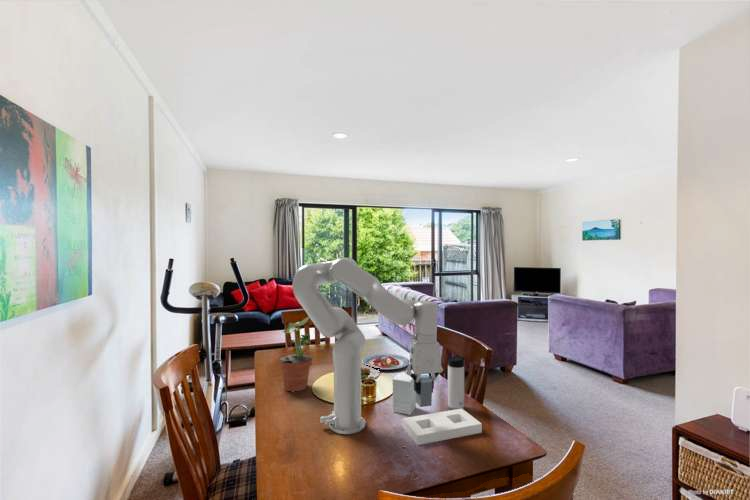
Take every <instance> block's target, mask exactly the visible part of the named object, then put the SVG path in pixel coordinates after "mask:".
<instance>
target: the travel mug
mask: <svg viewBox="0 0 750 500" xmlns="http://www.w3.org/2000/svg"><path fill="white" fill-rule="evenodd" d="M465 360H466V356H461V355H453V356H449V357H448V359H447V408H448V410H456V409H463V410H465Z"/></svg>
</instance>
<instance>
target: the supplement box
mask: <svg viewBox="0 0 750 500" xmlns="http://www.w3.org/2000/svg"><path fill="white" fill-rule="evenodd" d="M391 380H392V412H393V413H399V414H404V415H409V416H411V415H412V414H413V412H414V411H415V409H416V408H417V403H416V402H415V401H416V392H415V390H414V379H413V378H412V377H411V376H409V375H407V374H406V373H400V372H399V373H398V374H396V375H395V377H393V378H392V379H391Z"/></svg>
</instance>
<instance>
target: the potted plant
mask: <svg viewBox="0 0 750 500" xmlns="http://www.w3.org/2000/svg"><path fill="white" fill-rule="evenodd" d="M309 319H310V317H309V316H307V317H305V318H303V320H301V321H297V322H294V323H292V322H290V321H289V323H288V326H287V327H286V329H285V330H281V331H282V332H283V334H286V335H288V334H290V333H293V332H294V335H295V336H296V337H294V339H288V342H289V344H292V343H293V342H294V348H295V349H294V351H295V353H292V354H288V355H284V356H282V357H280V358H279V367H280V368H281V372H282V373H281V374H282V381H283V388H284V390H285V391H286V390H287V391H301V390H303V391H304V390H306V389H307V387H308V383H309V374H310V367H311V366H312V364H313V356H311V354H305V351H306V348H305V347H307V345H308V346H309V344H310V343H311V342H312V341H311V340H310V339H309V338H310V335H309V334H301V333H300V331H301V330H302V326H304V325H305V324H306V323H307V322H308V321H309ZM297 333H298V334H299V335H298V334H297ZM298 336H299V338H298ZM287 391H286V392H287ZM301 392H302V391H301Z"/></svg>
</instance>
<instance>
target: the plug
mask: <svg viewBox="0 0 750 500" xmlns="http://www.w3.org/2000/svg"><path fill="white" fill-rule="evenodd" d="M419 382H420V383H421V389H420V394H417V393H416V401H415V402H416V405H418V406H419V407H420V408H423V407H424V408H425V407H431V406H432V404H433V403H432V401H433V397H432V395H433V393H432V378H431V377H429V375H428V374H421V375H420V381H419Z"/></svg>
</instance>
